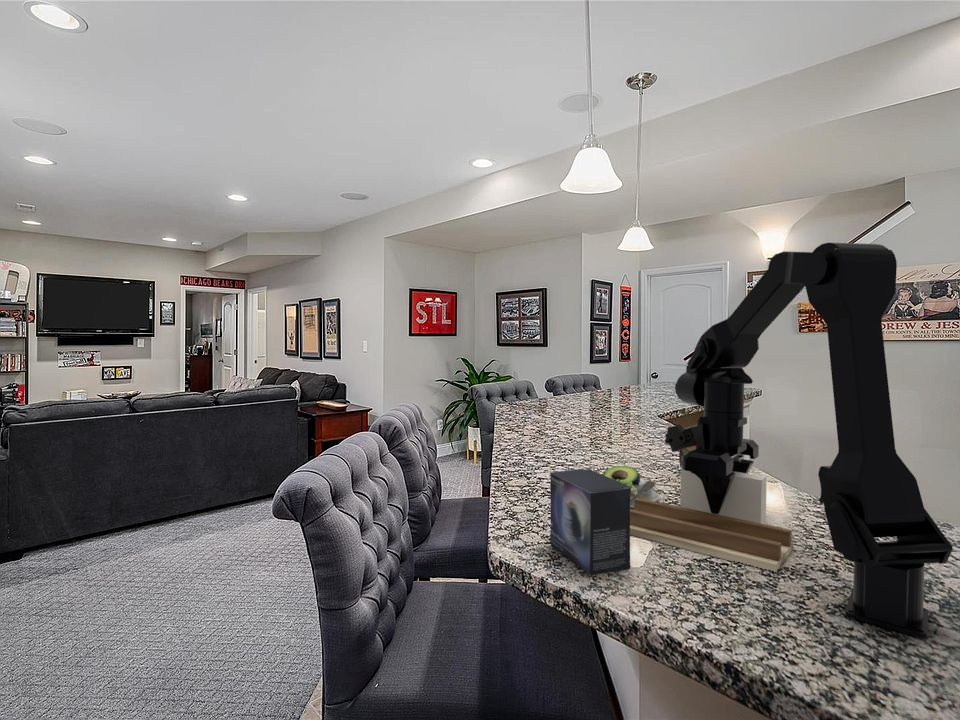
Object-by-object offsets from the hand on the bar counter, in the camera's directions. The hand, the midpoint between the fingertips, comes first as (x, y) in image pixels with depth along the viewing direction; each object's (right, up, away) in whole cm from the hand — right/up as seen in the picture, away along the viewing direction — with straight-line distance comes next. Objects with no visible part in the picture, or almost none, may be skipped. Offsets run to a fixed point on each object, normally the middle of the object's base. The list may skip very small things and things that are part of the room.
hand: (721, 508), depth 83 cm
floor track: (-7, -2, -8) cm, 11 cm away
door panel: (0, -2, 0) cm, 2 cm away
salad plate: (-14, -2, +14) cm, 20 cm away
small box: (-24, -3, -14) cm, 28 cm away
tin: (+7, -2, +26) cm, 27 cm away
